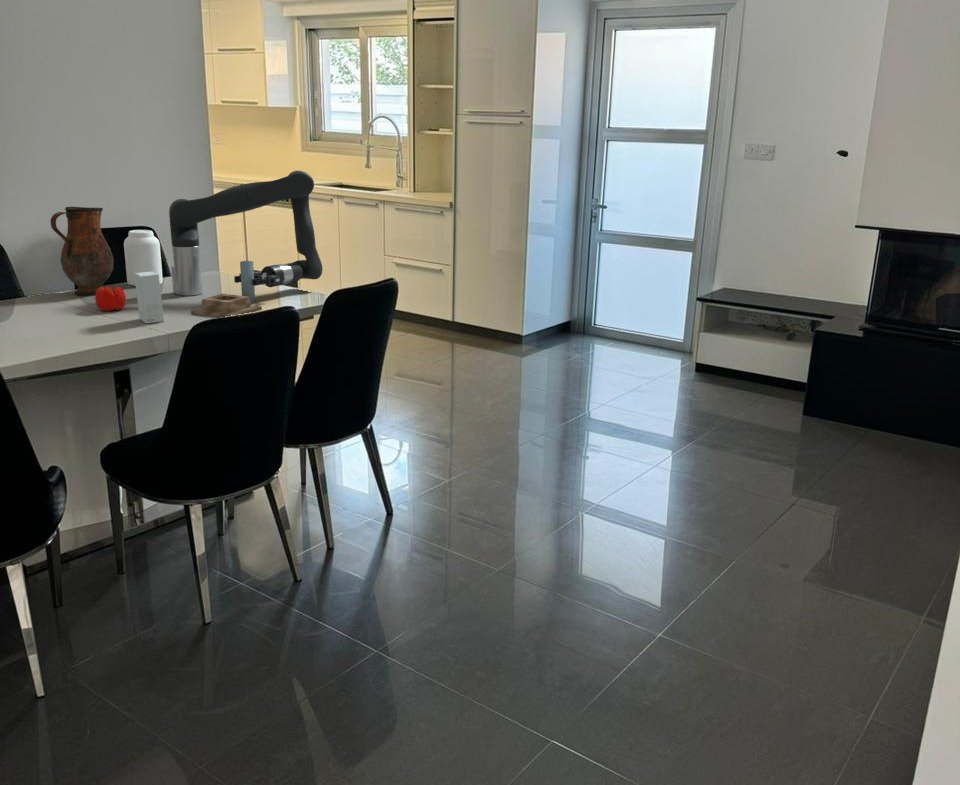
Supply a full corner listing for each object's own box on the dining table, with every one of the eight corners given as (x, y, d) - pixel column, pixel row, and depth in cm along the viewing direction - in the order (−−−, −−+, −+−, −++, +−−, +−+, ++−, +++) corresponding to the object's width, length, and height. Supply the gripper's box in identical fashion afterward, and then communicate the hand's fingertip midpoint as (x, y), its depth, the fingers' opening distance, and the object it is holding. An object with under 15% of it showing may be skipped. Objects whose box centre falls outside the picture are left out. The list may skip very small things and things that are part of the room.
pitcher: (127, 291, 308) (119, 207, 299) (78, 301, 289) (68, 211, 280) (93, 286, 314) (84, 203, 305) (43, 296, 296) (32, 208, 287)
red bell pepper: (90, 311, 277) (88, 288, 274) (111, 306, 285) (109, 283, 282) (113, 314, 273) (111, 291, 271) (133, 309, 281) (131, 286, 279)
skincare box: (164, 322, 265) (160, 274, 260) (144, 324, 262) (139, 275, 257) (157, 316, 272) (153, 270, 267) (137, 318, 268) (133, 271, 264)
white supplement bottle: (141, 288, 315) (136, 233, 309) (120, 284, 321) (115, 230, 315) (169, 283, 325) (165, 230, 319) (149, 279, 332) (144, 227, 326)
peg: (239, 302, 296) (237, 262, 292) (247, 300, 300) (245, 260, 296) (250, 303, 295) (248, 263, 291) (257, 301, 299) (255, 261, 294)
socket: (191, 313, 278) (190, 299, 276) (222, 304, 292) (221, 291, 291) (232, 318, 272) (231, 304, 271) (261, 309, 287) (261, 296, 285)
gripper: (262, 262, 310) (228, 268, 296) (291, 267, 303) (258, 272, 289) (263, 283, 312) (229, 289, 298) (292, 287, 305) (259, 294, 292)
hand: (244, 281), depth 294 cm, fingers open, 8 cm apart
